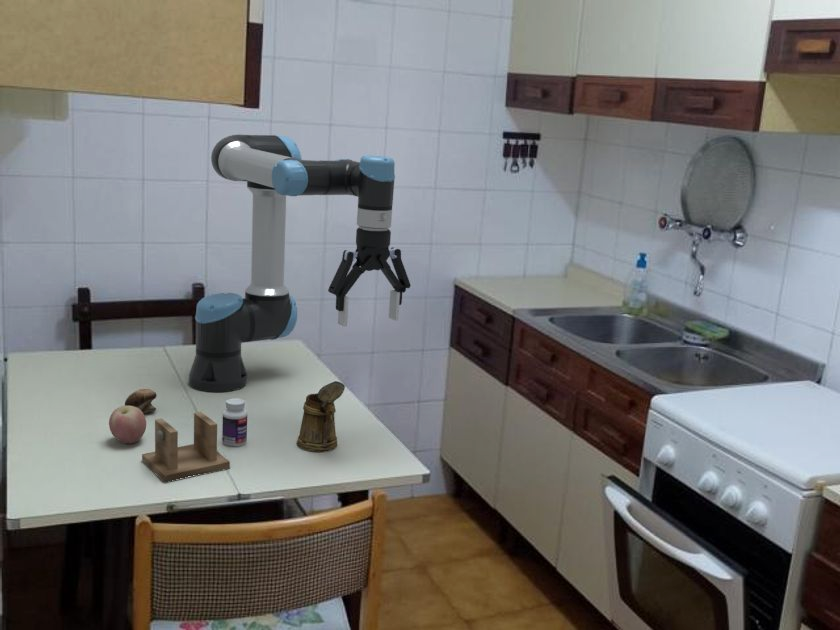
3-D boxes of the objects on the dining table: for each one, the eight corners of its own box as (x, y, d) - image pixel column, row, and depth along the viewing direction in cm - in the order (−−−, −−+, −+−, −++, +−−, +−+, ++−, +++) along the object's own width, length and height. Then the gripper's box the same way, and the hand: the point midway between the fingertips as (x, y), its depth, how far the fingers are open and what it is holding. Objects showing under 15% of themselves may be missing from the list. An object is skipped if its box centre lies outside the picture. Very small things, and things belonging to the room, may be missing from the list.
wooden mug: (312, 463, 190) (315, 383, 185) (291, 439, 201) (294, 364, 197) (350, 457, 194) (355, 379, 189) (328, 435, 205) (331, 361, 201)
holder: (142, 460, 185) (141, 418, 182) (205, 448, 193) (205, 407, 191) (164, 482, 176) (164, 437, 173) (229, 468, 184) (230, 425, 182)
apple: (104, 438, 194) (103, 404, 192) (138, 432, 199) (138, 399, 197) (116, 451, 188) (116, 416, 186) (151, 445, 193) (151, 410, 191)
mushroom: (168, 401, 210) (153, 379, 209) (140, 420, 205) (124, 398, 205) (158, 407, 216) (144, 385, 216) (131, 425, 212) (116, 403, 211)
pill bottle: (241, 448, 194) (242, 406, 192) (218, 445, 195) (218, 403, 193) (250, 439, 200) (251, 398, 197) (228, 436, 201) (228, 395, 198)
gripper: (333, 232, 183) (328, 331, 188) (429, 228, 198) (423, 320, 203) (315, 227, 189) (311, 323, 194) (410, 223, 204) (404, 312, 209)
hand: (368, 322), depth 199 cm, fingers open, 13 cm apart
